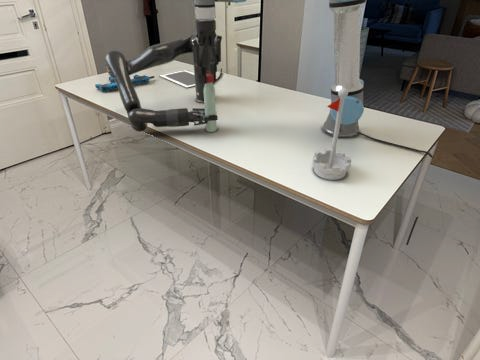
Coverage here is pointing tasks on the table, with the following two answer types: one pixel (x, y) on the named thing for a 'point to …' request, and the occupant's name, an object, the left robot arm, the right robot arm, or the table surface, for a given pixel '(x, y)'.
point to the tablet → (181, 78)
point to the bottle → (210, 105)
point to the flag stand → (333, 149)
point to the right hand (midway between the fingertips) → (208, 81)
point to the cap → (210, 78)
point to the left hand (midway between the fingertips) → (216, 115)
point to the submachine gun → (113, 83)
